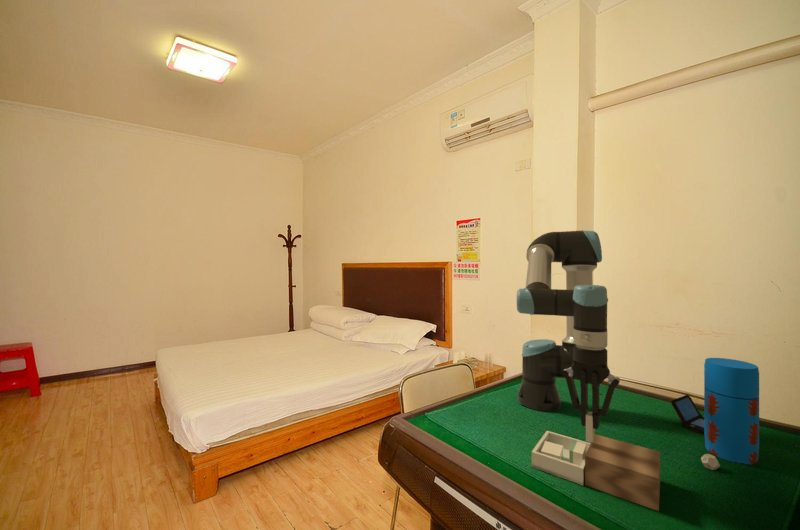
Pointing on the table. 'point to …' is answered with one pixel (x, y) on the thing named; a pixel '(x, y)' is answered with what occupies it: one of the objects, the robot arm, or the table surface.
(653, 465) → the walnut block
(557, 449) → the tile
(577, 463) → the tile
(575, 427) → the table surface
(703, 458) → the game die
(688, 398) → the handheld game console
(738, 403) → the thermos
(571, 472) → the bin
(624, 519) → the table surface
